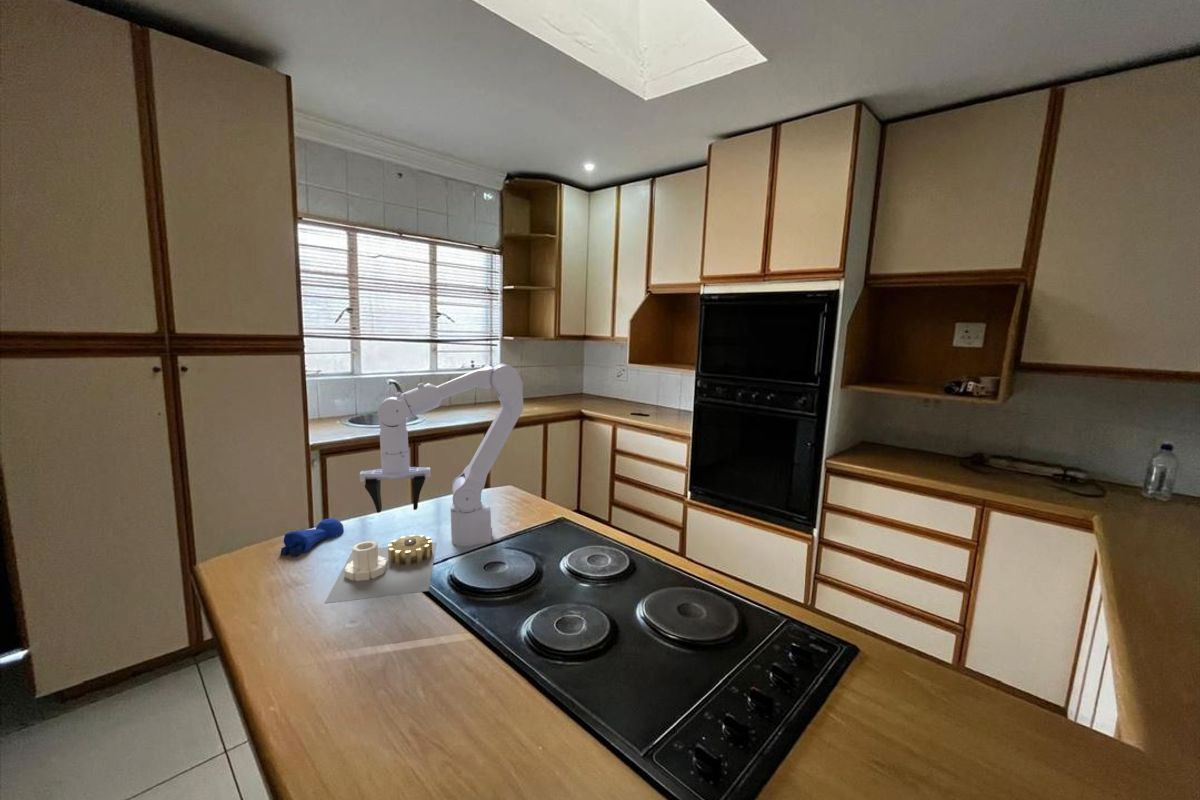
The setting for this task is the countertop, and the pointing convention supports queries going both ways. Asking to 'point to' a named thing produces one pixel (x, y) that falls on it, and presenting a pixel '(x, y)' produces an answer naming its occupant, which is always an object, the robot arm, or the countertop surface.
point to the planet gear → (365, 562)
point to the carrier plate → (385, 580)
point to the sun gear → (410, 550)
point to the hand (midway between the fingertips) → (397, 509)
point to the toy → (311, 537)
